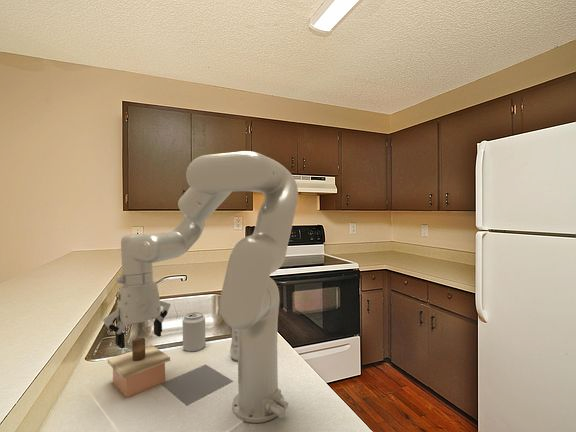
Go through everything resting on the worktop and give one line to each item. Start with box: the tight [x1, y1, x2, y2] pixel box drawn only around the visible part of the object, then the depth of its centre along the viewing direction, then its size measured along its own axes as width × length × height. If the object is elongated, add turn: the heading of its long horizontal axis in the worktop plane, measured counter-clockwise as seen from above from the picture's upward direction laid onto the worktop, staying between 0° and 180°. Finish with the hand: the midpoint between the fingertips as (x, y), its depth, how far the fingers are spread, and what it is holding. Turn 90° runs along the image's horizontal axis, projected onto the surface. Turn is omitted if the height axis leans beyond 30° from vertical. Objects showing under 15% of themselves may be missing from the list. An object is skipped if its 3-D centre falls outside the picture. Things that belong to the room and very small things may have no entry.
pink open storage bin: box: [112, 363, 166, 398], centre depth 84 cm, size 10×10×6 cm
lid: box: [107, 337, 171, 379], centre depth 84 cm, size 12×12×6 cm
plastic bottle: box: [229, 328, 238, 362], centre depth 97 cm, size 6×7×20 cm
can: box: [182, 311, 206, 352], centre depth 105 cm, size 8×8×12 cm
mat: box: [160, 364, 234, 406], centre depth 83 cm, size 14×14×1 cm
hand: (140, 341), depth 83 cm, fingers open, 9 cm apart
